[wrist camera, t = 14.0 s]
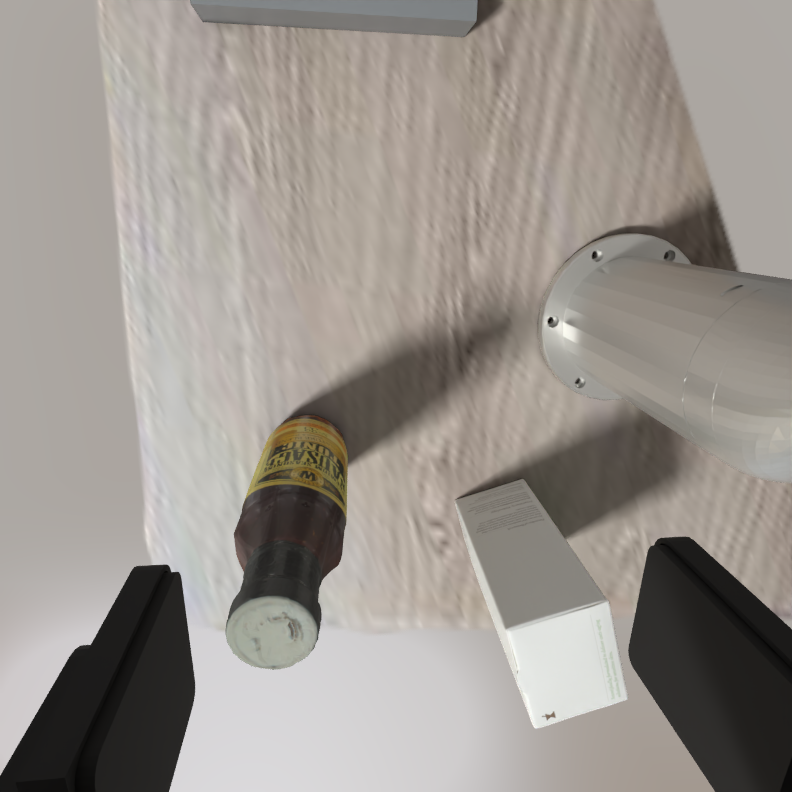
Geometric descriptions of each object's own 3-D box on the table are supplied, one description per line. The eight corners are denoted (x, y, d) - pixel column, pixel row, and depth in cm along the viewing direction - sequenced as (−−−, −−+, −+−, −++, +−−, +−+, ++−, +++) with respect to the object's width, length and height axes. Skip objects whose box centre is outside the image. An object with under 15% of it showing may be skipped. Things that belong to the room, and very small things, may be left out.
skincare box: (541, 553, 48) (634, 704, 33) (470, 575, 48) (532, 737, 33) (523, 473, 45) (616, 600, 30) (447, 496, 45) (504, 635, 30)
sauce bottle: (357, 423, 42) (379, 594, 23) (332, 491, 43) (334, 703, 25) (274, 398, 40) (226, 560, 22) (252, 470, 42) (190, 678, 23)
